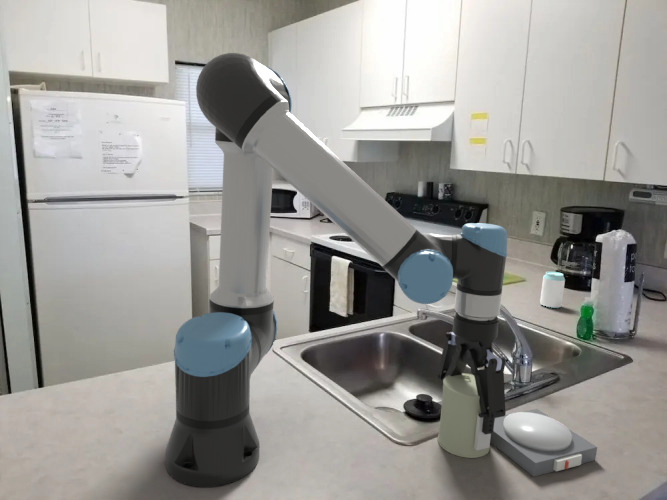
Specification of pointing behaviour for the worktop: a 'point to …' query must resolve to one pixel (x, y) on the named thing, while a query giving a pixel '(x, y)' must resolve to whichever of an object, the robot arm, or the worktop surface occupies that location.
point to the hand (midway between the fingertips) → (464, 433)
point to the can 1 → (460, 416)
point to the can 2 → (552, 289)
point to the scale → (540, 442)
